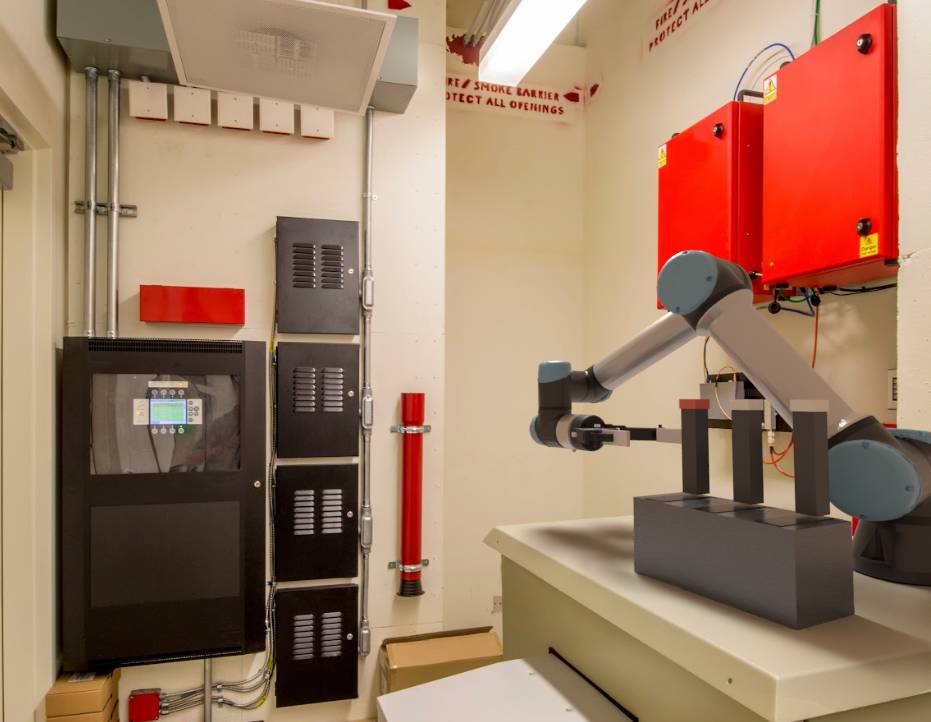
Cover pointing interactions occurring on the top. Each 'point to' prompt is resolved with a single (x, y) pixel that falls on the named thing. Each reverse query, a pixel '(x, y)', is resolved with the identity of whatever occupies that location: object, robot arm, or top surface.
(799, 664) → the top surface
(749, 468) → the post
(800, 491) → the post
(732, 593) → the dark grey block
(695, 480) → the post
